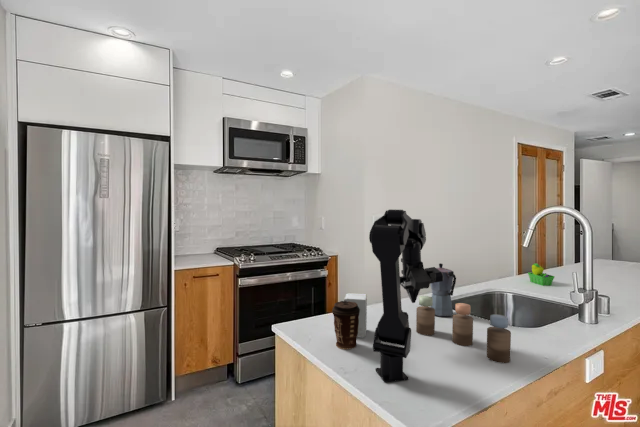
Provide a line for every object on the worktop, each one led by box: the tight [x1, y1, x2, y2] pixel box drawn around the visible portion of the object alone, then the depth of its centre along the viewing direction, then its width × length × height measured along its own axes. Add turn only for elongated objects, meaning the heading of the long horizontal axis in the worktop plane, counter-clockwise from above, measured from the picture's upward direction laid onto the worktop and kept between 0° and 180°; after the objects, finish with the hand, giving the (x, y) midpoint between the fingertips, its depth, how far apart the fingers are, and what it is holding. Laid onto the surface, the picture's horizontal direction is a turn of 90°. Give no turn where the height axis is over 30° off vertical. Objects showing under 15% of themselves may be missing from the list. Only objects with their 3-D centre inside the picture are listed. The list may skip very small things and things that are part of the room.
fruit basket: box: [527, 262, 555, 286], centre depth 186 cm, size 11×9×11 cm
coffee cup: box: [331, 300, 360, 351], centre depth 105 cm, size 9×8×13 cm
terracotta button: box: [454, 302, 471, 316], centre depth 108 cm, size 4×4×2 cm
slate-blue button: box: [490, 313, 509, 329], centre depth 97 cm, size 4×4×2 cm
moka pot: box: [429, 263, 457, 317], centre depth 135 cm, size 10×15×20 cm, turn 21°
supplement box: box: [343, 292, 368, 338], centre depth 115 cm, size 7×7×13 cm
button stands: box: [415, 305, 512, 364], centre depth 107 cm, size 30×8×8 cm, turn 38°
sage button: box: [418, 295, 433, 307], centre depth 116 cm, size 4×4×2 cm
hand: (413, 302), depth 110 cm, fingers closed
